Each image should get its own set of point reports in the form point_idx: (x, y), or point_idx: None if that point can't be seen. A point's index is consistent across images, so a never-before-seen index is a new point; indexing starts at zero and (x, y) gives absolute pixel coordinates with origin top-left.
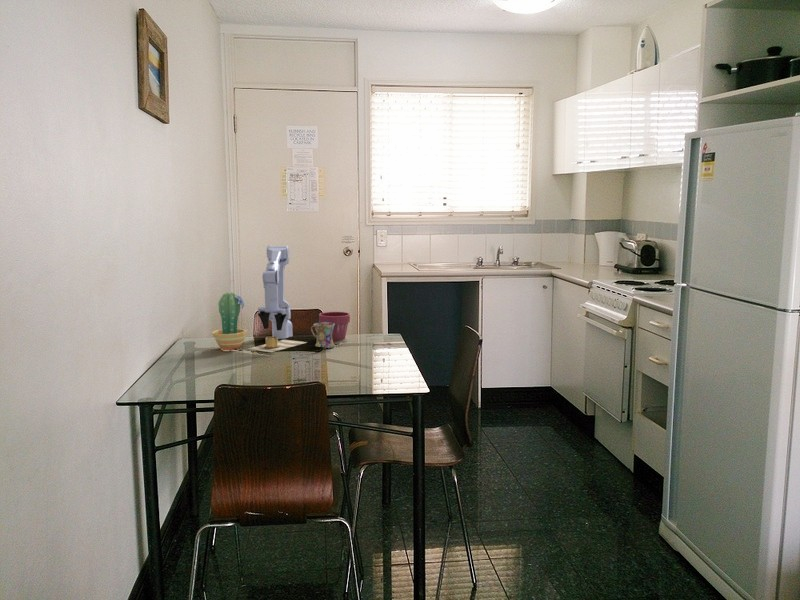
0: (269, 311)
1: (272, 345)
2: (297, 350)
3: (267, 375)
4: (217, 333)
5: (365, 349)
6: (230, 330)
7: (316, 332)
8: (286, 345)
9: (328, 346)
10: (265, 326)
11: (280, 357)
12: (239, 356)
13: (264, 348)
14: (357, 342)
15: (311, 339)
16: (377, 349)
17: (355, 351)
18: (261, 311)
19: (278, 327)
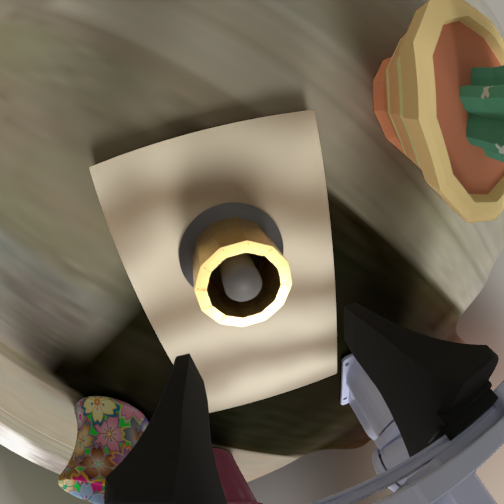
0: (384, 487)
1: (197, 246)
2: (118, 333)
3: None
4: (481, 25)
5: (38, 438)
6: (486, 86)
7: (108, 455)
8: (209, 334)
9: (75, 414)
10: (354, 324)
11: (15, 176)
12: (219, 3)
13: (231, 195)
14: None
15: (281, 432)
16: (31, 445)
17: (20, 416)
18: (484, 408)
19: (170, 379)
